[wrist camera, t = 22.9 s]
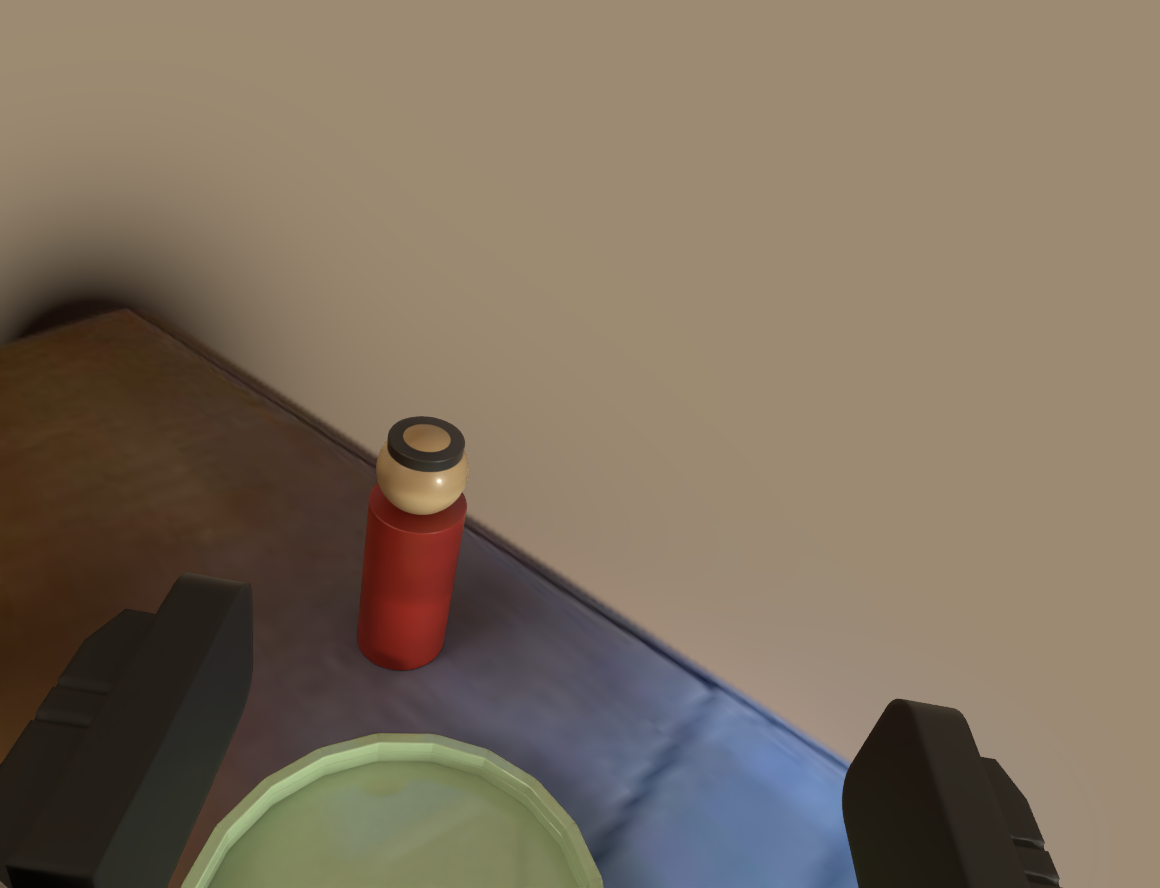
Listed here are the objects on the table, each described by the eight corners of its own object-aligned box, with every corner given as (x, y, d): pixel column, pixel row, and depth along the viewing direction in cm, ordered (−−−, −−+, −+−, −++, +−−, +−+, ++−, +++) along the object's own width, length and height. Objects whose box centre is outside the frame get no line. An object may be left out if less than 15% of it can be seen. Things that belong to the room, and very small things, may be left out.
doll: (338, 641, 48) (353, 432, 40) (393, 592, 52) (417, 392, 44) (408, 685, 47) (439, 478, 39) (460, 631, 51) (497, 432, 43)
